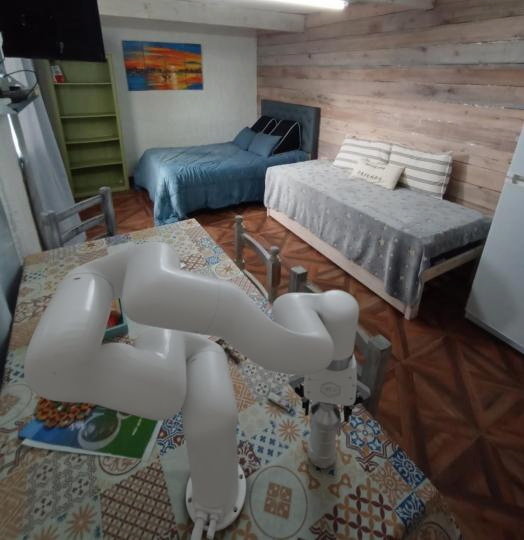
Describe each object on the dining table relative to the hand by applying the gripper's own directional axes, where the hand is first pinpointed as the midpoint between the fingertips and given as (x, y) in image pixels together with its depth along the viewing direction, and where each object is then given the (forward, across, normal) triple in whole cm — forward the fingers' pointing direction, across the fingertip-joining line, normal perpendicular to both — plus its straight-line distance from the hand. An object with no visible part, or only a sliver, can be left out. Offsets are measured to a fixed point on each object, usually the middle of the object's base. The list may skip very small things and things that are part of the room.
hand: (325, 411), depth 67 cm
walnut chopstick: (+15, -27, +23) cm, 39 cm away
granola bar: (+15, -11, +11) cm, 22 cm away
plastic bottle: (+15, 0, 0) cm, 15 cm away
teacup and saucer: (+15, -72, +62) cm, 96 cm away
